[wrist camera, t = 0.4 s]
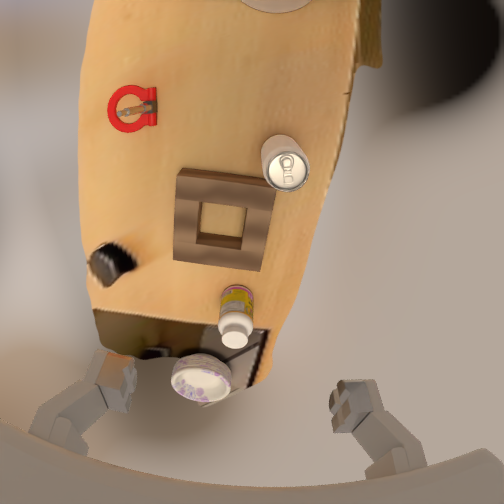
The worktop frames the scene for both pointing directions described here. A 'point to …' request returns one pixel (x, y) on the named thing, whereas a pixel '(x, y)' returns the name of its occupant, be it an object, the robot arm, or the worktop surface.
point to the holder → (226, 193)
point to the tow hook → (133, 108)
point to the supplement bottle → (236, 316)
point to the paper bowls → (201, 378)
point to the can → (284, 163)
